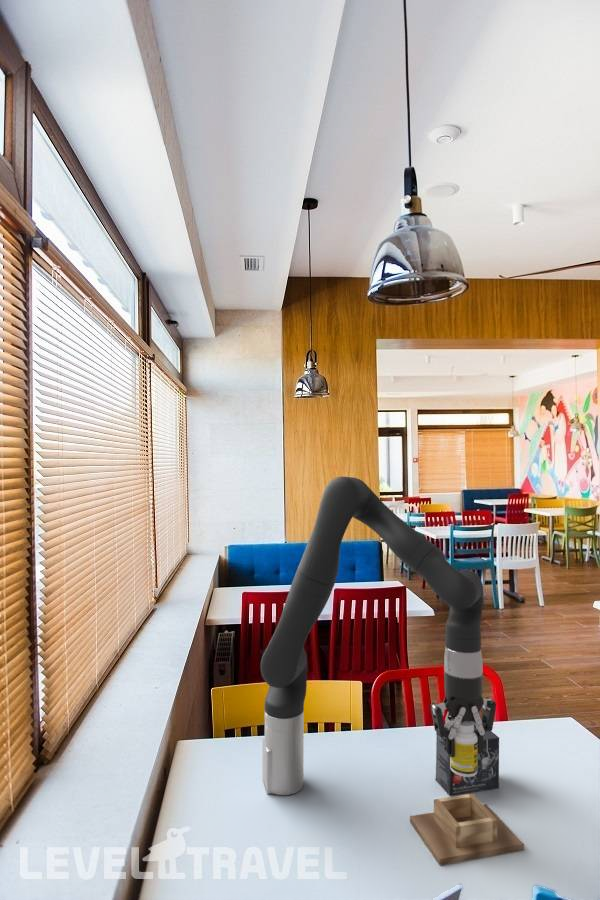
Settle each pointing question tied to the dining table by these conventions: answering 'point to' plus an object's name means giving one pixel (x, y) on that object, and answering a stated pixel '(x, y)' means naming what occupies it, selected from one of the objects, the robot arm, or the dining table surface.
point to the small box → (485, 774)
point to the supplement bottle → (465, 751)
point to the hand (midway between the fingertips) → (463, 753)
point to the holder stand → (464, 830)
